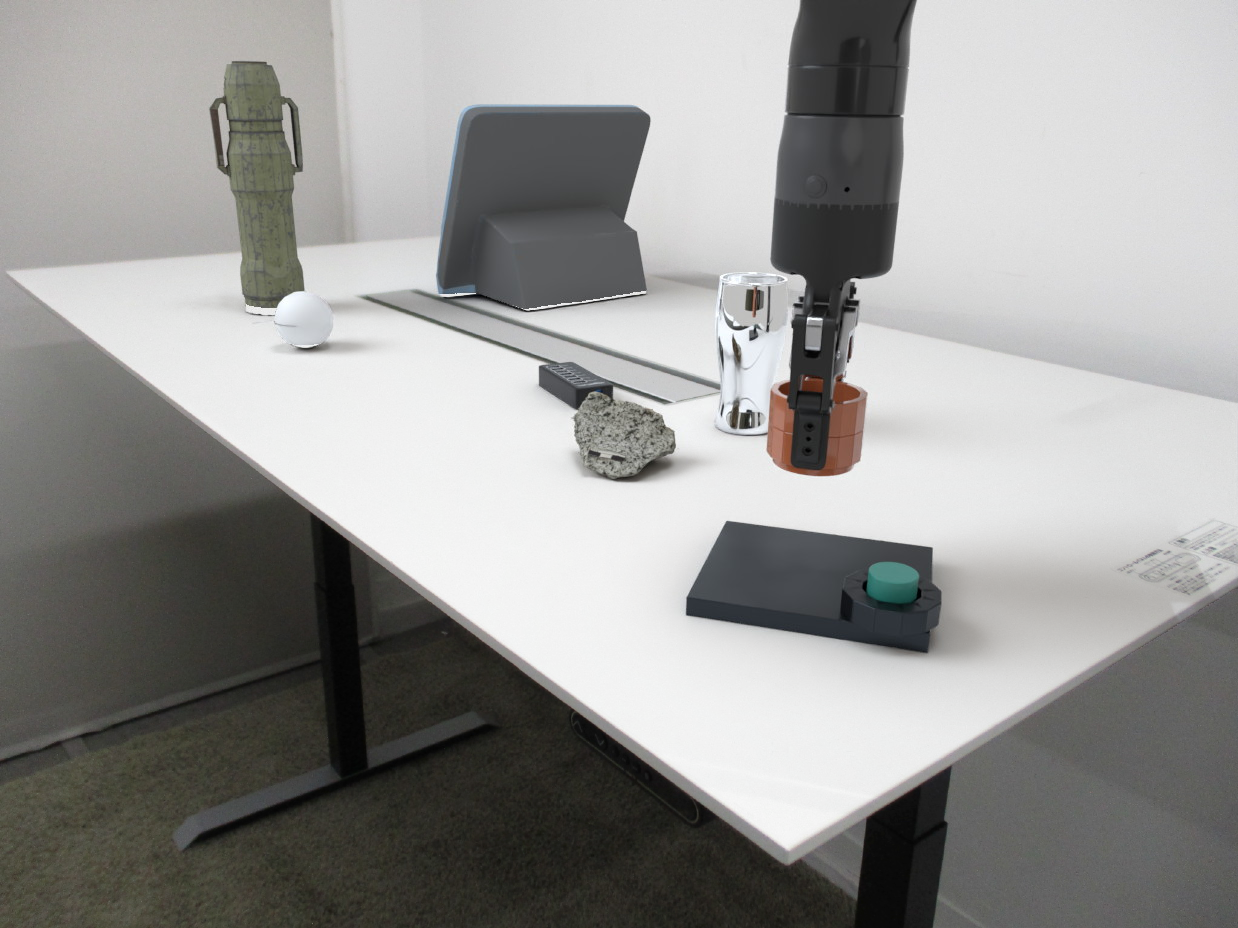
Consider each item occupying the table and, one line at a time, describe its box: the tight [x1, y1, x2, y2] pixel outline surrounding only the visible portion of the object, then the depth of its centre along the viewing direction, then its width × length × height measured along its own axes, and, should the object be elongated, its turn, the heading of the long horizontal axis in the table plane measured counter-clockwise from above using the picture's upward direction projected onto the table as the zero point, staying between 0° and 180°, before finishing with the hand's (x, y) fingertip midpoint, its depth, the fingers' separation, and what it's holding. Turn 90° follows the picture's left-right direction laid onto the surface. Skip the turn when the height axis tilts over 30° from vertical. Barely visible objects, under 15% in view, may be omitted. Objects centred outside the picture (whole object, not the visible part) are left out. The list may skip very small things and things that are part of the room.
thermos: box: [208, 60, 306, 308], centre depth 147 cm, size 9×12×35 cm
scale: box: [685, 520, 943, 654], centre depth 68 cm, size 15×14×3 cm
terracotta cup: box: [766, 378, 869, 477], centre depth 67 cm, size 6×6×5 cm
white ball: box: [252, 290, 334, 345], centre depth 129 cm, size 10×7×7 cm
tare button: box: [867, 562, 919, 604], centre depth 62 cm, size 3×3×2 cm
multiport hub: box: [538, 361, 614, 410], centre depth 112 cm, size 4×11×2 cm, turn 27°
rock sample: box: [570, 391, 679, 480], centre depth 90 cm, size 10×8×9 cm
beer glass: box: [714, 271, 789, 436], centre depth 100 cm, size 7×7×15 cm
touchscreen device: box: [435, 103, 652, 309], centre depth 162 cm, size 35×20×30 cm, turn 130°
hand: (814, 449), depth 67 cm, fingers closed on terracotta cup, 6 cm apart
